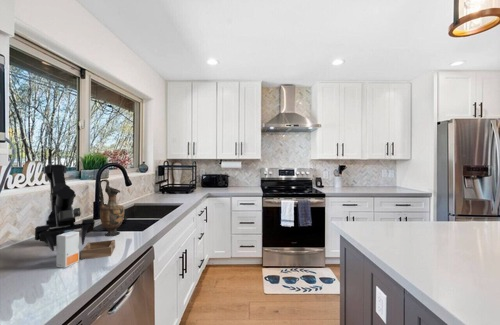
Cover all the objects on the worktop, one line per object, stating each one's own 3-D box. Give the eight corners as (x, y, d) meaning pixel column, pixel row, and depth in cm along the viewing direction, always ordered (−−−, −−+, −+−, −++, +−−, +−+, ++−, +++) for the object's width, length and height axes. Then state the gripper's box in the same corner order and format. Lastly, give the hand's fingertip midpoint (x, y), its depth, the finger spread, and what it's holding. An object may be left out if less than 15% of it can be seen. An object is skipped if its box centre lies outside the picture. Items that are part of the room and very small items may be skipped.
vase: (121, 236, 127) (120, 179, 126) (94, 238, 124) (94, 180, 124) (127, 230, 138) (126, 178, 138) (103, 231, 135) (102, 178, 135)
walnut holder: (88, 250, 107) (88, 242, 107) (115, 247, 111) (115, 239, 111) (81, 259, 97) (81, 251, 97) (111, 255, 101) (110, 247, 101)
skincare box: (65, 268, 90) (65, 236, 90) (56, 267, 91) (55, 235, 91) (79, 261, 96) (79, 231, 96) (71, 260, 97) (70, 230, 97)
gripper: (34, 205, 90) (36, 241, 82) (93, 199, 103) (100, 230, 95) (34, 222, 95) (35, 258, 87) (89, 214, 108) (95, 245, 100)
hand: (68, 247), depth 92 cm, fingers open, 9 cm apart
